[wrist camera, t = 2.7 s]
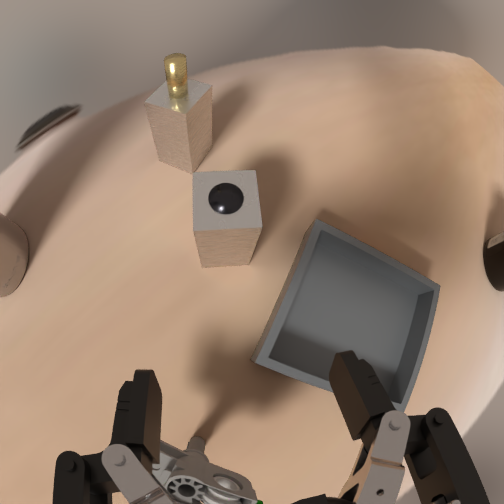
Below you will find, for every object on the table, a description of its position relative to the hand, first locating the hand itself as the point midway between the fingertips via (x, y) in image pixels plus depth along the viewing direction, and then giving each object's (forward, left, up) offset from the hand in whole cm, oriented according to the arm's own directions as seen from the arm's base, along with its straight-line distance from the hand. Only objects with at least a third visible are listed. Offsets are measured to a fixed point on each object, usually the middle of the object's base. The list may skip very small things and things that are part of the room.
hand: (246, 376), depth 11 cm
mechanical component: (+1, -10, -14) cm, 17 cm away
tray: (+10, +7, -14) cm, 19 cm away
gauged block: (-14, +17, -14) cm, 27 cm away
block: (-5, +9, -14) cm, 18 cm away
